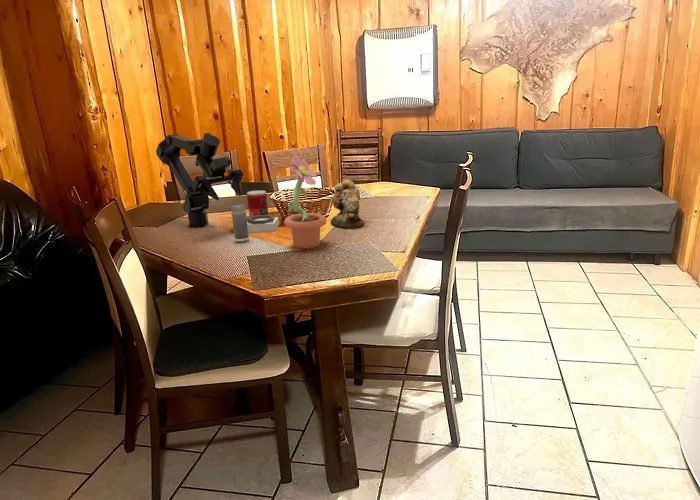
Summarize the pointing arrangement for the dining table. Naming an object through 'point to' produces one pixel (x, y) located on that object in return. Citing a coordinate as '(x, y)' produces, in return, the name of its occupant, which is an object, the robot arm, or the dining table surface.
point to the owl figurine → (346, 206)
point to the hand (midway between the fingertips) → (229, 197)
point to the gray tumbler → (239, 223)
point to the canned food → (257, 203)
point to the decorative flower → (305, 223)
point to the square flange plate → (262, 223)
